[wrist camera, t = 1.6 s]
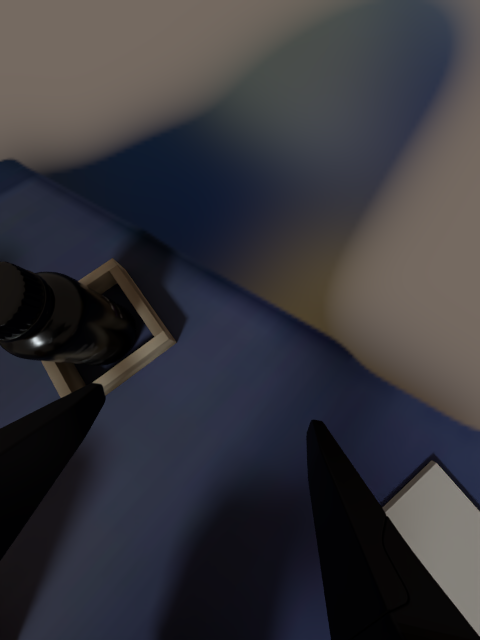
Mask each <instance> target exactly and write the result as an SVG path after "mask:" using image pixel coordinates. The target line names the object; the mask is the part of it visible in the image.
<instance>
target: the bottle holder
mask: <svg viewBox="0 0 480 640" xmlns="http://www.w3.org/2000/svg"><path fill="white" fill-rule="evenodd" d="M78 282H80V283H82V284H84V285H86V286H87V287H89V288H91V289H93V290H95V291H96V292H98V293H100V294H102V293H104V292H105V291H107V290H108V289H110V288H111V287H112V286H114V285H115V284H117V283H118V284H119V286H120V287H121V289H122V290H123V291H124V293H125V294H126V296H127V297H128V299H129V300H130V302H131V303H132V305H133V306H134V308H135V309H136V311H137V312H138V313H139V315H140V316H141V318H142V319H143V321H144V322H145V324H146V325H147V327H148V328H149V330H150V331H151V333H152V334H153V335H154V338H153V339H151V340H150V341H149V342H147V343H146V344H145V345H143V346H142V347H140V348H139V349H138V350H136V351H135V352H134V353H132V354H131V355H130V356H128V357H127V358H125V359H124V360H123V361H121V362H120V363H119V364H117V365H116V366H114V367H113V368H112V369H110V370H109V371H108V372H106V373H105V374H104V375H102V376H101V377H99V378H98V379H97V380H95V381H94V382H93V383H98V384H101V385H102V386H103V389H104V393H105V396H106V395H107V394H108V393H110V392H111V391H112V390H114V389H115V388H116V387H118V386H119V385H120V384H122V383H123V382H125V381H126V380H127V379H129V378H130V377H131V376H133V375H134V374H135V373H137V372H138V371H139V370H141V369H142V368H143V367H145V366H146V365H147V364H149V363H150V362H151V361H153V360H154V359H155V358H157V357H158V356H159V355H161V354H162V353H163V352H165V351H166V350H168V349H169V348H170V347H172V346H173V345H174V344H176V343H177V342H176V341H175V339H174V338H173V337H172V335H171V334H170V332H169V331H168V329H167V328H166V327H165V325H164V324H163V322H162V321H161V319H160V318H159V317H158V315H157V314H156V312H155V311H154V310H153V308H152V307H151V305H150V304H149V302H148V301H147V300H146V298H145V297H144V295H143V294H142V293H141V291H140V290H139V288H138V287H137V285H136V284H135V283H134V281H133V280H132V278H131V277H130V275H129V274H128V273H127V271H126V270H125V269H124V268H123V267H122V266H121V265H120V264H119V263H117V262H116V261H115V260H114V259H113V258H112V259H111V260H109V261H108V262H106V263H105V264H103V265H102V266H100V267H99V268H97V269H96V270H94V271H93V272H91V273H90V274H88V275H87V276H85V277H84V278H82V279H81V280H79V281H78ZM42 363H43V365H44V367H45V369H46V371H47V373H48V375H49V376H50V378H51V380H52V382H53V384H54V386H55V388H56V390H57V391H58V393H59V395H60V397H61V398H62V397H64V396H66V395H68V394H70V393H72V392H74V391H76V390H78V389H80V388H82V387H84V386H86V384H85V382H84V381H83V379H82V377H81V375H80V374H79V372H78V370H77V368H76V367H75V365H74V363H62V362H51V361H42Z"/></svg>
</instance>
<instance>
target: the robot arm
mask: <svg viewBox="0 0 480 640" xmlns="http://www.w3.org/2000/svg"><path fill="white" fill-rule="evenodd" d="M105 399H106V397H105V393H104V389H103V386H102V385H101V384H98V383H90V384H88V385H86V386H84V387H82V388H80V389H78V390H76V391H74V392H72V393H70V394H68V395H66V396H64V397H62V398H60V399H58V400H56V401H54V402H52V403H50V404H48V405H46V406H44V407H42V408H40V409H38V410H36V411H34V412H32V413H30V414H28V415H26V416H24V417H22V418H21V419H19V420H17V421H15V422H13V423H11V424H9V425H7V426H5V427H3V428H1V429H0V560H1V559H2V558H3V556H4V555H5V553H6V552H7V550H8V549H9V547H10V546H11V544H12V543H13V542H14V540H15V539H16V537H17V536H18V534H19V533H20V531H21V530H22V528H23V527H24V526H25V524H26V523H27V521H28V520H29V518H30V517H31V515H32V514H33V512H34V511H35V510H36V508H37V507H38V505H39V504H40V502H41V501H42V499H43V498H44V496H45V495H46V494H47V492H48V491H49V489H50V488H51V486H52V485H53V483H54V482H55V480H56V479H57V478H58V476H59V475H60V473H61V472H62V470H63V469H64V467H65V466H66V464H67V463H68V462H69V460H70V459H71V457H72V456H73V454H74V453H75V451H76V450H77V448H78V447H79V446H80V444H81V443H82V441H83V440H84V438H85V437H86V435H87V433H88V431H89V430H90V428H91V426H92V424H93V423H94V421H95V419H96V417H97V415H98V414H99V412H100V410H101V408H102V407H103V405H104V403H105ZM306 440H307V466H308V482H309V489H310V496H311V503H312V510H313V517H314V524H315V531H316V538H317V545H318V552H319V559H320V566H321V573H322V580H323V587H324V594H325V601H326V608H327V614H328V621H329V628H330V635H331V640H480V636H479V635H478V634H477V632H476V631H475V630H474V629H473V627H472V626H471V625H470V624H469V622H468V621H467V620H466V619H465V617H464V616H463V615H462V613H461V612H460V611H459V610H458V608H457V607H456V606H455V605H454V603H453V602H452V601H451V600H450V598H449V597H448V596H447V594H446V593H445V592H444V591H443V589H442V588H441V587H440V586H439V584H438V583H437V582H436V581H435V579H434V578H433V577H432V575H431V574H430V573H429V572H428V570H427V569H426V568H425V566H424V565H423V564H422V563H421V561H420V560H419V559H418V557H417V556H416V555H415V553H414V552H413V551H412V549H411V548H410V547H409V545H408V544H407V542H406V541H405V540H404V538H403V537H402V536H401V534H400V533H399V531H398V530H397V529H396V527H395V526H394V524H393V523H392V521H391V520H390V518H389V517H388V516H386V513H385V511H384V510H383V508H382V507H381V505H380V504H379V503H378V501H377V500H376V498H375V497H374V495H373V494H372V492H371V491H370V490H369V488H368V487H367V485H366V484H365V482H364V481H363V479H362V478H361V477H360V475H359V474H358V472H357V471H356V469H355V468H354V466H353V465H352V463H351V462H350V461H349V459H348V458H347V456H346V455H345V453H344V452H343V450H342V449H341V448H340V446H339V445H338V443H337V442H336V440H335V439H334V437H333V436H332V435H331V433H330V432H329V430H328V429H327V427H326V426H325V424H324V423H323V422H322V421H319V420H311V422H310V425H309V428H308V431H307V436H306Z"/></svg>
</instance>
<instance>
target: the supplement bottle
mask: <svg viewBox="0 0 480 640" xmlns="http://www.w3.org/2000/svg"><path fill="white" fill-rule="evenodd" d="M135 337H136V324H135V320H134V318H133V316H132V315H131V313H130V312H129V311H128V310H127V309H126V308H124V307H123V306H121V305H119V304H118V303H116V302H114V301H112V300H111V299H109V298H107V297H105V296H103V295H102V294H100V293H98V292H96V291H95V290H93V289H91V288H89V287H87V286H86V285H84V284H82V283H80V282H78V281H77V280H75V279H73V278H71V277H69V276H67V275H64V274H61V273H57V272H38V273H33V272H31V271H28V270H25V269H23V268H21V267H19V266H16V265H14V264H10V263H8V262H0V346H1V347H2V348H3V349H5V350H6V351H7V352H9V353H10V354H12V355H14V356H16V357H19V358H23V359H29V360H39V361H51V362H62V363H74V364H85V365H108V364H111V363H114V362H116V361H118V360H119V359H121V358H122V357H123V356H124V355H126V354H127V352H128V351H129V350H130V348H131V347H132V345H133V343H134V340H135Z"/></svg>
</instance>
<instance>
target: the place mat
mask: <svg viewBox="0 0 480 640" xmlns="http://www.w3.org/2000/svg"><path fill="white" fill-rule="evenodd" d="M383 510H384V511H385V513H386V516H388V517H389V518H390V520H391V521H392V523H393V524H394V526H395V527H396V529H397V530H398V531H399V533H400V534H401V536H402V537H403V538H404V540H405V541H406V542H407V544H408V545H409V547H410V548H411V549H412V551H413V552H414V553H415V555H416V556H417V557H418V559H419V560H420V561H421V563H422V564H423V565H424V566H425V568H426V569H427V570H428V572H429V573H430V574H431V575H432V577H433V578H434V579H435V581H436V582H437V583H438V584H439V586H440V587H441V588H442V589H443V591H444V592H445V593H446V594H447V596H448V597H449V598H450V600H451V601H452V602H453V603H454V605H455V606H456V607H457V608H458V610H459V611H460V612H461V613H462V615H463V616H464V617H465V619H466V620H467V621H468V622H469V624H470V625H471V626H472V627H473V629H474V630H475V631H476V632H477V634H478V635H479V636H480V511H479V510H478V509H477V508H476V507H475V506H474V505H473V504H472V502H471V501H470V500H469V499H468V498H467V497H466V496H465V494H464V493H463V492H462V491H461V490H460V489H459V488H458V487H457V485H456V484H455V483H454V482H453V481H452V480H451V479H450V478H449V476H448V475H447V474H446V473H445V472H444V471H443V470H442V468H441V467H440V466H439V465H438V464H437V463H436V462H433V461H430V462H429V463H428V464H427V465H426V466H425V467H424V468H423V469H422V470H421V471H420V472H419V473H418V474H417V475H416V476H415V477H414V478H413V479H412V480H411V481H410V482H409V483H408V484H407V485H405V486H404V487H403V488H402V489H401V490H400V491H399V492H398V493H397V494H396V495H395V496H394V497H393V498H392V499H391V500H390V501H389V502H388V503H387V504H386V505H385V506H384V507H383Z"/></svg>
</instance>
